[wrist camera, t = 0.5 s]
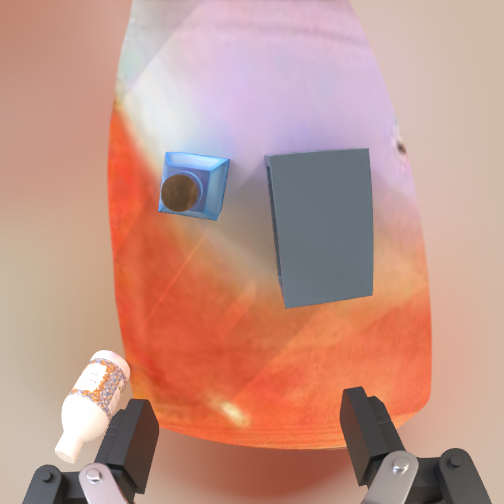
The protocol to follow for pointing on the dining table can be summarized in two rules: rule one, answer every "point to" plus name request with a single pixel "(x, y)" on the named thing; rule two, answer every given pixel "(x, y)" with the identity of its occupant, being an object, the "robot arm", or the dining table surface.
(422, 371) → the dining table surface
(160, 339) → the dining table surface
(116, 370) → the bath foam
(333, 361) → the dining table surface
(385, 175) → the dining table surface
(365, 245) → the shelf
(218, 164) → the perfume bottle
